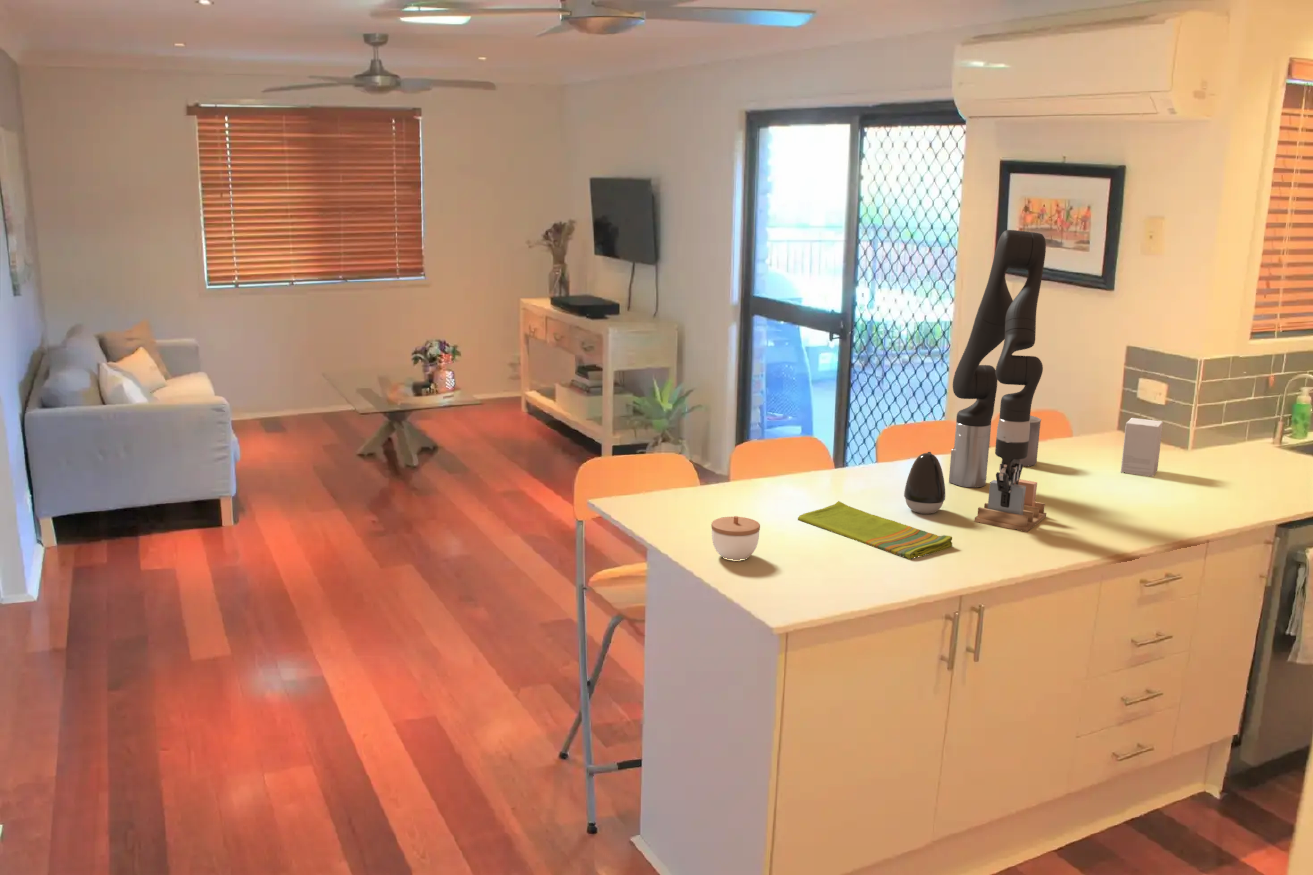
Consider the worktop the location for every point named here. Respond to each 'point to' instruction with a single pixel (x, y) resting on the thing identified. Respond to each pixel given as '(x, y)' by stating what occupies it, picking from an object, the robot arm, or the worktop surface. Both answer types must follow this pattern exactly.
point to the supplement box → (1141, 446)
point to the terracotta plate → (1029, 492)
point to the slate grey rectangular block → (1015, 498)
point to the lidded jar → (735, 536)
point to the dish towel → (876, 531)
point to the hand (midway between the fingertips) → (1006, 505)
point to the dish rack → (1012, 517)
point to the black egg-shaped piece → (925, 485)
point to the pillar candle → (1032, 442)
